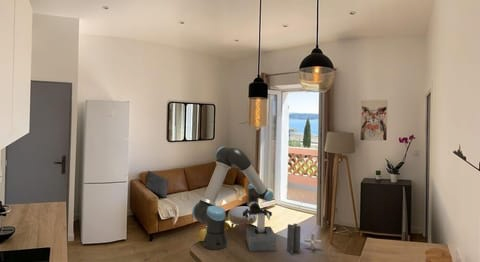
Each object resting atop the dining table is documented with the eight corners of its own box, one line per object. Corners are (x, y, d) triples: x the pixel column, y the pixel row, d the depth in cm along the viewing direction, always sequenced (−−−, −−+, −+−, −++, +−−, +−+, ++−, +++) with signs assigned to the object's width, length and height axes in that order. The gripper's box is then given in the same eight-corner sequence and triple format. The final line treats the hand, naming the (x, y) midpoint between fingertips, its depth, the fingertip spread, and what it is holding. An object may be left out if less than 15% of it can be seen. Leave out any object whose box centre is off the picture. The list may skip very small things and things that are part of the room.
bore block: (249, 251, 179) (250, 236, 179) (246, 240, 195) (246, 226, 195) (275, 250, 181) (275, 236, 181) (270, 239, 197) (270, 226, 197)
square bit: (257, 246, 186) (258, 215, 185) (256, 244, 190) (257, 213, 189) (264, 246, 187) (264, 215, 185) (262, 243, 190) (263, 213, 189)
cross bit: (285, 252, 179) (286, 226, 178) (288, 247, 186) (289, 222, 185) (298, 255, 176) (298, 228, 175) (300, 250, 183) (301, 224, 182)
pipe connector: (321, 253, 179) (321, 237, 178) (304, 251, 181) (304, 235, 180) (320, 246, 189) (320, 231, 188) (304, 244, 191) (304, 229, 190)
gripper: (271, 212, 218) (277, 223, 197) (237, 213, 216) (240, 224, 195) (271, 202, 218) (277, 212, 197) (237, 203, 215) (240, 212, 194)
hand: (259, 218), depth 196 cm, fingers open, 13 cm apart
